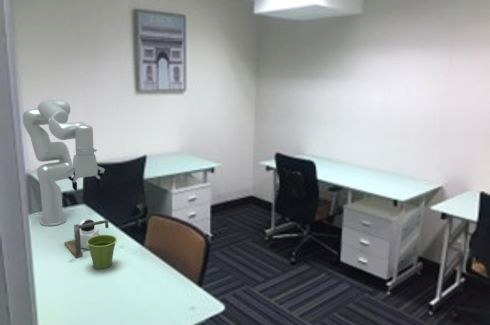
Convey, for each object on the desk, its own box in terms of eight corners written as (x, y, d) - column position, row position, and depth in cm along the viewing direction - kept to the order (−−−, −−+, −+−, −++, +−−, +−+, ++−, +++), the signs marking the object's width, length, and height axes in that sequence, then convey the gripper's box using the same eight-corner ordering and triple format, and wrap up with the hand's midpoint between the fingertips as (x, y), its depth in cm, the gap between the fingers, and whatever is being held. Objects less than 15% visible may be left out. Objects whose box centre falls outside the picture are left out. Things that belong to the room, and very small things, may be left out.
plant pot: (108, 273, 161) (107, 247, 159) (82, 269, 164) (80, 244, 161) (123, 260, 173) (122, 236, 170) (98, 257, 175) (96, 233, 172)
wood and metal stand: (76, 258, 173) (73, 226, 170) (64, 245, 185) (62, 215, 182) (112, 248, 183) (110, 219, 180) (98, 237, 195) (97, 208, 192)
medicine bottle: (98, 242, 188) (98, 219, 184) (91, 250, 181) (91, 226, 177) (83, 239, 188) (83, 216, 184) (76, 247, 182) (75, 223, 178)
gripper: (101, 148, 189) (102, 183, 193) (62, 152, 178) (64, 188, 183) (106, 152, 183) (107, 187, 188) (66, 155, 173) (68, 193, 177)
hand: (86, 188), depth 185 cm, fingers open, 9 cm apart
